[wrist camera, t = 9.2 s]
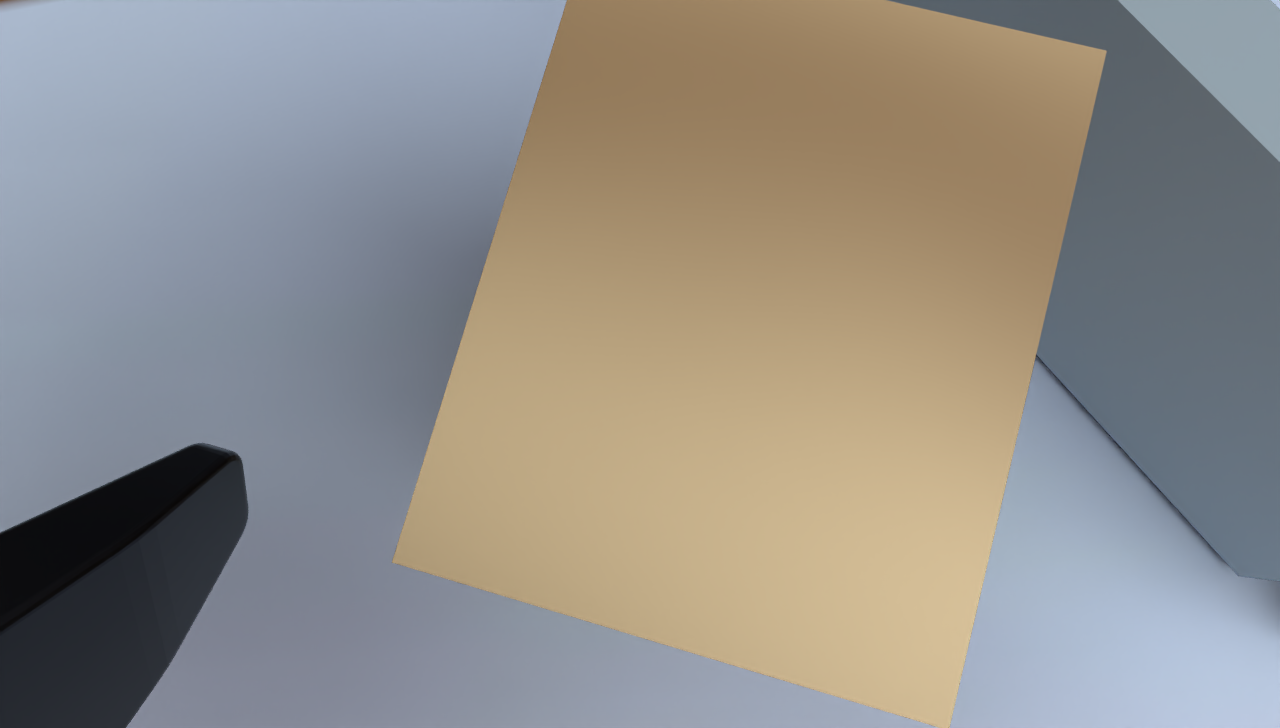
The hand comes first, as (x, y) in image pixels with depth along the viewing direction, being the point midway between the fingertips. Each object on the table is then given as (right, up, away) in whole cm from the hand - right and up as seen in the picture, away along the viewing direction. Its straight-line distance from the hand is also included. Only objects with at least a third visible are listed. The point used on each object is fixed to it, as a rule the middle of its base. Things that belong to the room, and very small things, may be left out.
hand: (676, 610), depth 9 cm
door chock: (+1, +1, +10) cm, 10 cm away
